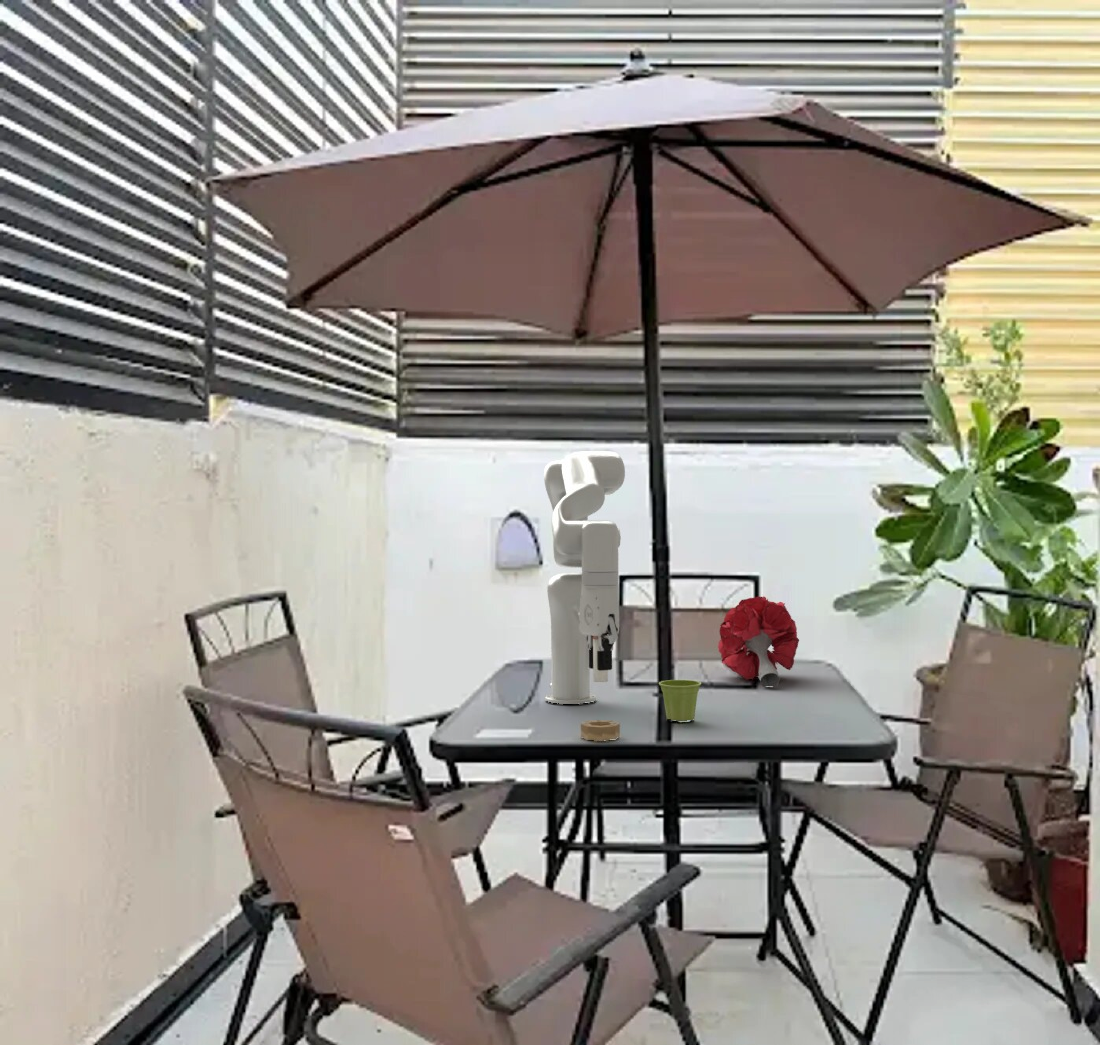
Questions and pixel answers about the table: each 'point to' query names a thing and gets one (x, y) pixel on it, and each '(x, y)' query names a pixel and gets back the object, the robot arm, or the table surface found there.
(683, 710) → the plant pot
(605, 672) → the pink-tipped cream rod
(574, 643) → the robot arm
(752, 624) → the bouquet
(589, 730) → the bead
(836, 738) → the table surface
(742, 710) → the table surface
